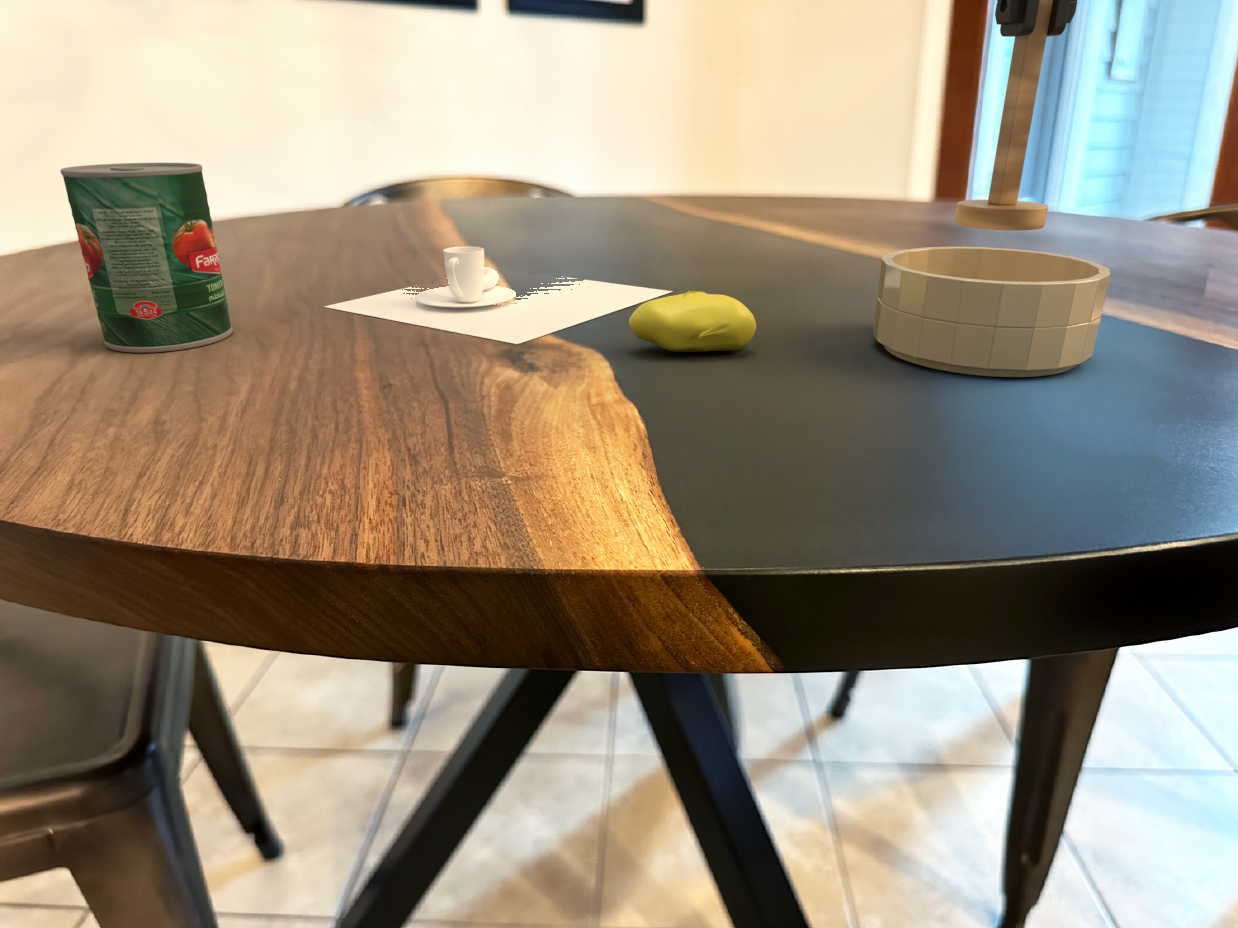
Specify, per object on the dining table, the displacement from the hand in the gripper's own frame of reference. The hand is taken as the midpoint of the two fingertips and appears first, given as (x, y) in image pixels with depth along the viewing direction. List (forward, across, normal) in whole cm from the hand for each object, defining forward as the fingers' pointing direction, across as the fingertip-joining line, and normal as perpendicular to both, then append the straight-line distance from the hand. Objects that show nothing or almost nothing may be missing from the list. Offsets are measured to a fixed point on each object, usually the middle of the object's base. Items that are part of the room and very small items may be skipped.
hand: (1031, 34), depth 46 cm
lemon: (+18, -18, +3) cm, 26 cm away
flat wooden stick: (+10, 0, 0) cm, 10 cm away
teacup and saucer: (+18, -29, +21) cm, 40 cm away
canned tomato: (+18, -52, +13) cm, 57 cm away
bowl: (+18, 0, 0) cm, 18 cm away
